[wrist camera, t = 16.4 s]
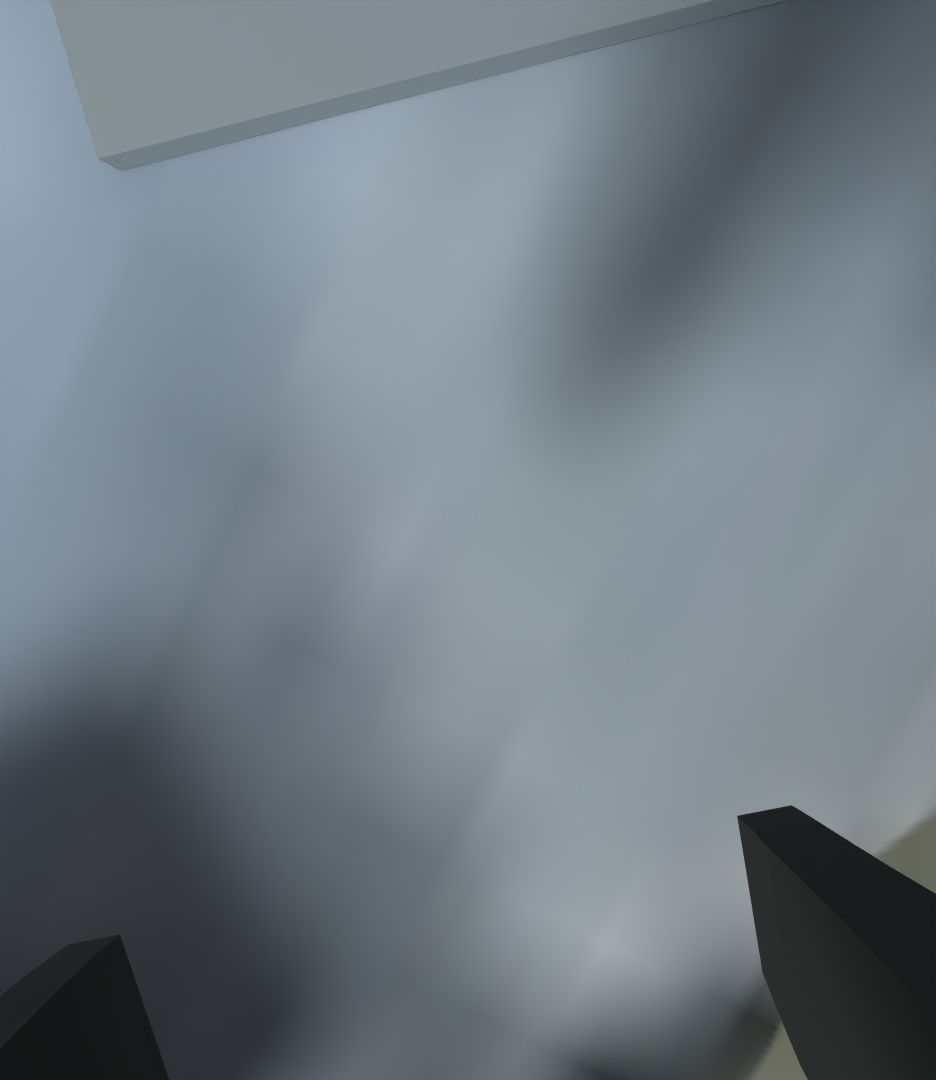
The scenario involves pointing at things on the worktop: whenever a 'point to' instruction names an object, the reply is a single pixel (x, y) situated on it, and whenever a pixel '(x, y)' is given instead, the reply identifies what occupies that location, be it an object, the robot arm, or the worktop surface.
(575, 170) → the worktop surface
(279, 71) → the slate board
